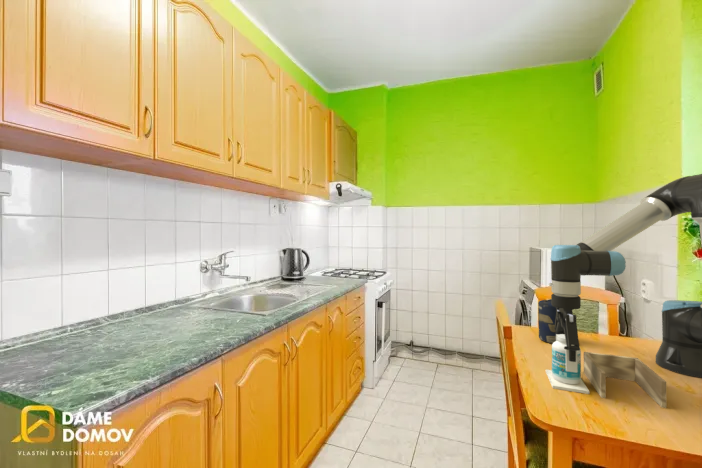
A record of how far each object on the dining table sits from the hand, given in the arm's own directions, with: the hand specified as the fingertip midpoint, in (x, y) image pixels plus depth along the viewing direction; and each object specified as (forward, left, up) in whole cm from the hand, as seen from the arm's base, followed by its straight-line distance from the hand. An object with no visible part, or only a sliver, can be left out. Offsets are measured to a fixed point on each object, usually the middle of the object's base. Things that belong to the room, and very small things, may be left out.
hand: (565, 362), depth 98 cm
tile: (0, 0, -6) cm, 6 cm away
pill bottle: (0, 0, -6) cm, 6 cm away
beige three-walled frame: (-14, -1, -6) cm, 15 cm away
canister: (-3, -41, -6) cm, 42 cm away
